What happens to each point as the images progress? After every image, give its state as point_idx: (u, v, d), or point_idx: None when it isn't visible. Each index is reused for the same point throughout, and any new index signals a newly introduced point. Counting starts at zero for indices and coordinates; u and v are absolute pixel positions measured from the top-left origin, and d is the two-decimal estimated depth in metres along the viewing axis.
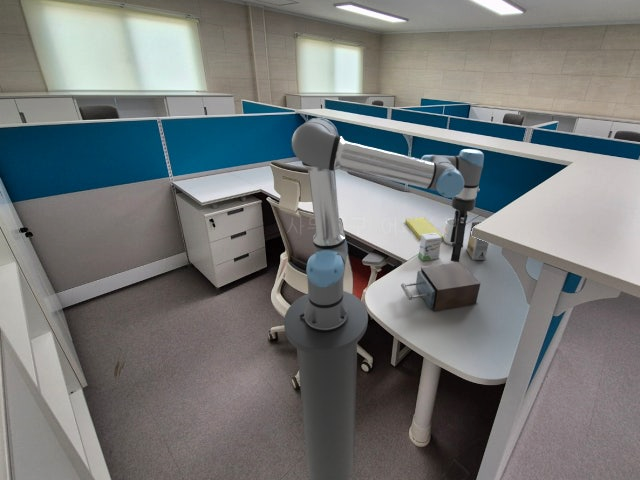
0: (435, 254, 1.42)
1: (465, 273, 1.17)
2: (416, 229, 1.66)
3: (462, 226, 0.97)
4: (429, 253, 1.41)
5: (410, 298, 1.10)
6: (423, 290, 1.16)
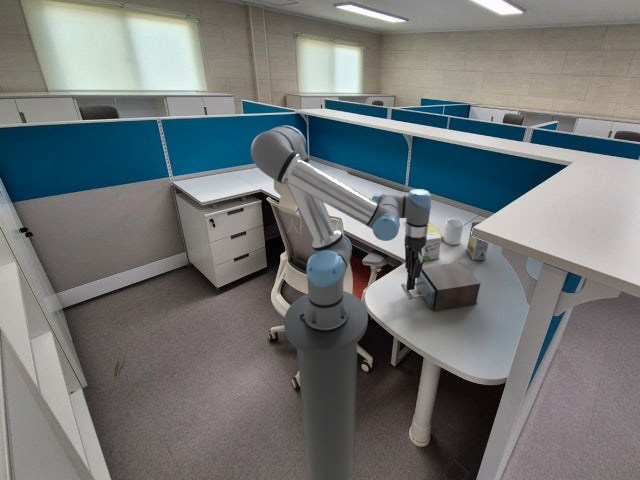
0: (435, 254, 1.42)
1: (465, 273, 1.17)
2: None
3: (420, 265, 1.03)
4: (429, 253, 1.41)
5: (410, 298, 1.10)
6: (423, 290, 1.16)
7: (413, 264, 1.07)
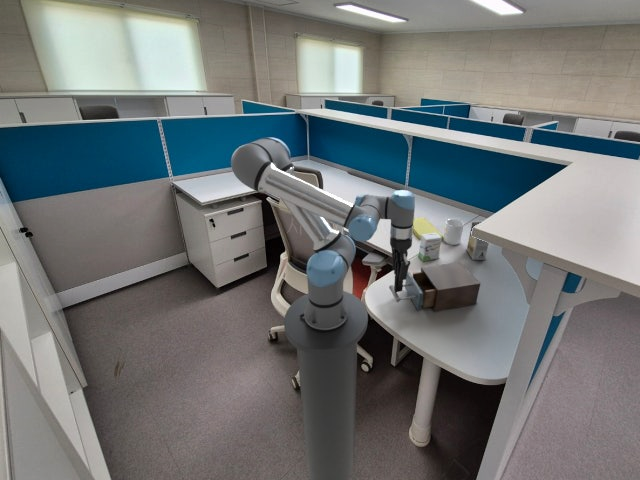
0: (435, 254, 1.42)
1: (465, 273, 1.17)
2: (416, 229, 1.66)
3: (406, 267, 1.02)
4: (429, 253, 1.41)
5: (398, 300, 1.09)
6: (411, 292, 1.14)
7: (399, 266, 1.05)
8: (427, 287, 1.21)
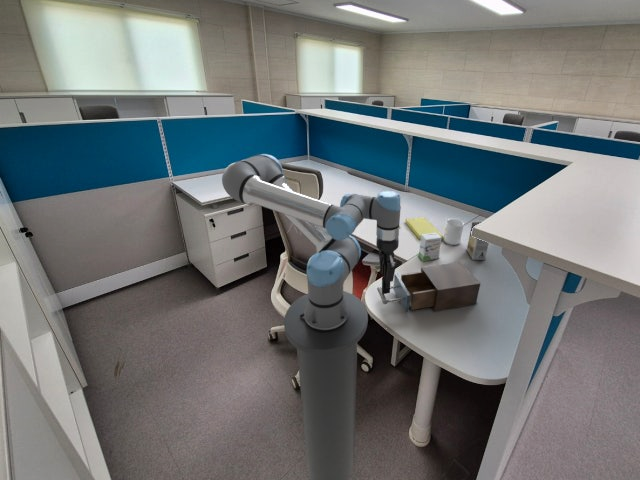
0: (435, 254, 1.42)
1: (465, 273, 1.17)
2: (416, 229, 1.66)
3: (392, 269, 1.01)
4: (429, 253, 1.41)
5: (385, 302, 1.08)
6: (399, 294, 1.13)
7: (386, 267, 1.04)
8: (416, 289, 1.19)
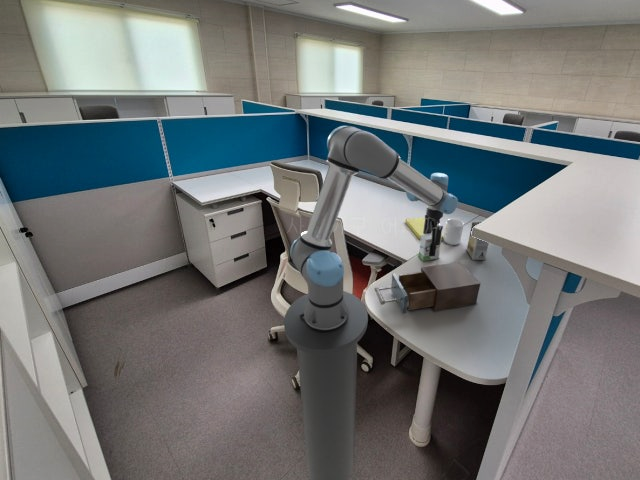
0: (435, 254, 1.42)
1: (465, 273, 1.17)
2: (416, 229, 1.66)
3: (439, 232, 1.33)
4: None
5: (382, 302, 1.07)
6: (397, 294, 1.13)
7: (434, 232, 1.36)
8: (413, 289, 1.19)
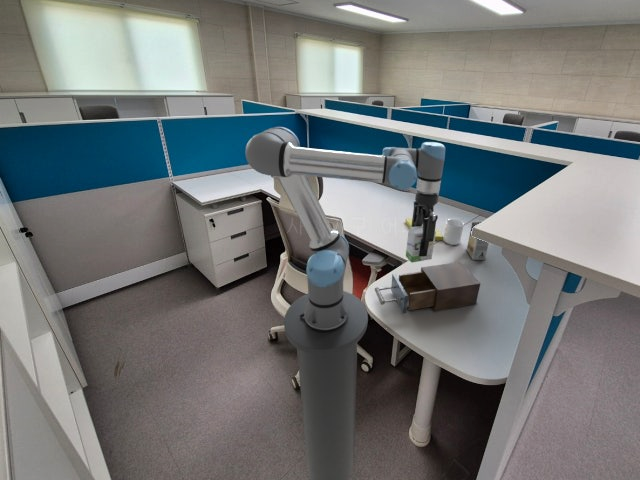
0: (428, 253, 1.07)
1: (465, 273, 1.17)
2: None
3: (433, 224, 0.97)
4: None
5: (382, 302, 1.07)
6: (397, 294, 1.13)
7: (425, 225, 1.00)
8: (413, 289, 1.19)
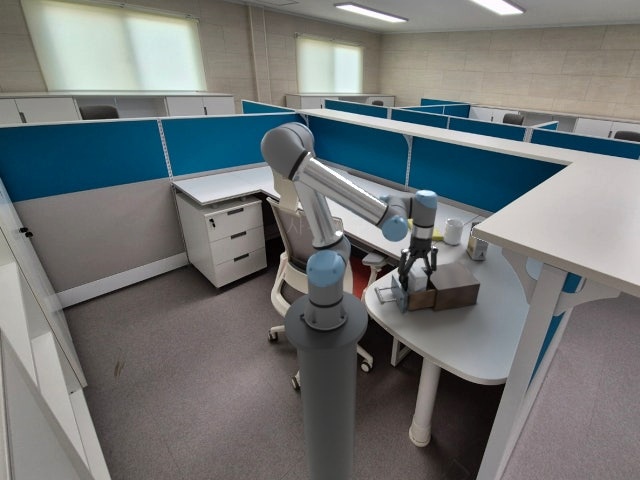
0: None
1: (465, 273, 1.17)
2: None
3: None
4: None
5: (382, 303, 1.07)
6: (397, 294, 1.13)
7: None
8: None
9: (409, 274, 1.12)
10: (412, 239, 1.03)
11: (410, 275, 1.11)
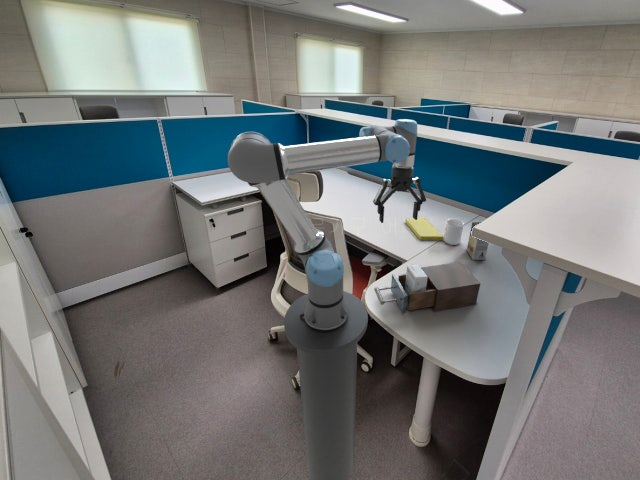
0: None
1: (465, 273, 1.17)
2: (416, 229, 1.66)
3: None
4: None
5: (382, 303, 1.07)
6: (397, 294, 1.13)
7: (413, 191, 1.11)
8: None
9: (409, 274, 1.12)
10: (393, 169, 1.05)
11: (410, 275, 1.11)
